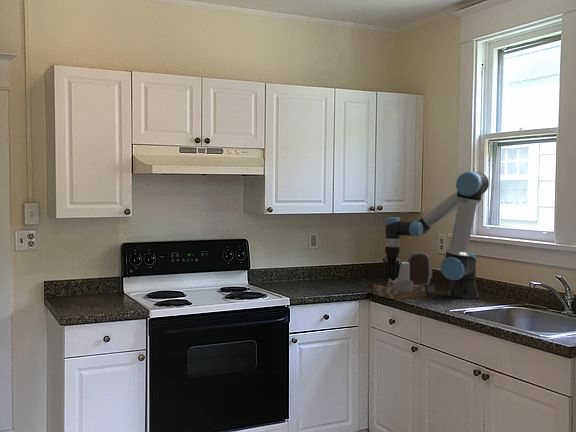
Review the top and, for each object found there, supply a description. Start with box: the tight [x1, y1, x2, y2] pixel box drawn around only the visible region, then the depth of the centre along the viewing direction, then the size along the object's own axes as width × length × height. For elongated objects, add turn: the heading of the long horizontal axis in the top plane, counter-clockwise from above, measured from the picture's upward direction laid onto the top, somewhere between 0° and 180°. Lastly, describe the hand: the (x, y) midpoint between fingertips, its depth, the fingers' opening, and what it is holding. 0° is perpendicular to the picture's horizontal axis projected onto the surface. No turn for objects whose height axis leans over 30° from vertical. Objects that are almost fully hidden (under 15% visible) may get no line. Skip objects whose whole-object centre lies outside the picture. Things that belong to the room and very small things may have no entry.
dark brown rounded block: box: [407, 250, 434, 287], centre depth 361 cm, size 15×8×20 cm, turn 78°
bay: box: [373, 278, 439, 301], centre depth 327 cm, size 21×27×9 cm
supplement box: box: [395, 261, 410, 280], centre depth 346 cm, size 9×9×15 cm
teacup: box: [387, 280, 413, 293], centre depth 324 cm, size 14×11×8 cm
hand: (391, 290), depth 331 cm, fingers closed
